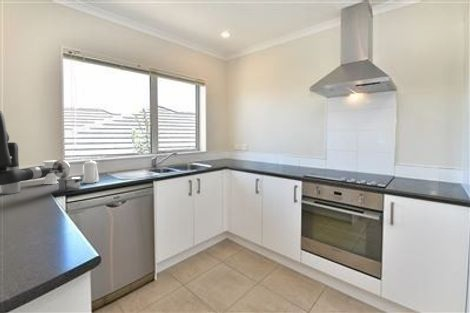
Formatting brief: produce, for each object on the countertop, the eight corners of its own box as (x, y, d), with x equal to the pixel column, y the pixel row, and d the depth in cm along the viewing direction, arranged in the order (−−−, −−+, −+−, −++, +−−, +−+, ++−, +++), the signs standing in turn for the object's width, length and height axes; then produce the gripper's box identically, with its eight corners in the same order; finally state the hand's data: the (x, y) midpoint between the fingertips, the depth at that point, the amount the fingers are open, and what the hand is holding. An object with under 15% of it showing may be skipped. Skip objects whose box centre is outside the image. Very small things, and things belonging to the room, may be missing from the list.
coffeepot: (92, 184, 184) (91, 160, 182) (76, 181, 197) (75, 159, 195) (106, 182, 193) (105, 159, 191) (90, 179, 206) (89, 158, 205)
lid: (71, 178, 162) (69, 179, 160) (54, 178, 163) (52, 178, 161) (69, 159, 160) (67, 160, 158) (52, 159, 161) (50, 160, 160)
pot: (72, 191, 161) (71, 179, 160) (50, 191, 162) (50, 179, 161) (87, 187, 174) (86, 176, 174) (67, 187, 176) (66, 176, 175)
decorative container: (61, 183, 189) (60, 161, 188) (43, 185, 183) (41, 162, 181) (62, 181, 199) (61, 160, 197) (45, 182, 193) (43, 160, 191)
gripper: (45, 166, 141) (68, 163, 159) (24, 166, 143) (50, 163, 160) (46, 179, 142) (69, 174, 159) (25, 178, 143) (50, 174, 161)
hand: (59, 168), depth 160 cm, fingers closed
